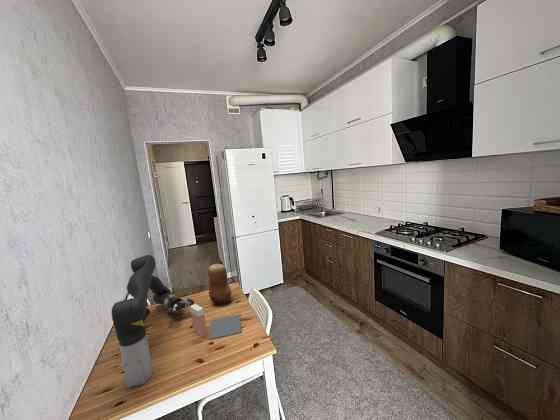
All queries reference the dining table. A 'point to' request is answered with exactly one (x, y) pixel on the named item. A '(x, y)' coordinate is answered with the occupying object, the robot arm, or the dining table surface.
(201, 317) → the block
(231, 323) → the mat
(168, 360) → the dining table surface
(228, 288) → the butternut squash
